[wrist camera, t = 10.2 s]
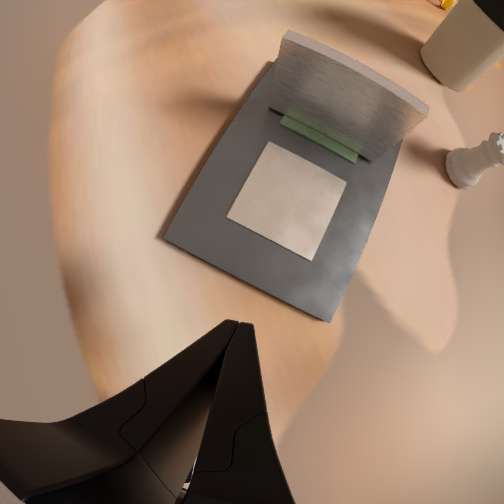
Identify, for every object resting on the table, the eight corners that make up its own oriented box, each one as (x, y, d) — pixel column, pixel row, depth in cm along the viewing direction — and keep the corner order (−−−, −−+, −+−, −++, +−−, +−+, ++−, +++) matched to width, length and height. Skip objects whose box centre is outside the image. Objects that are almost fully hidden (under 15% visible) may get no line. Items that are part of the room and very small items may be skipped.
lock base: (325, 321, 22) (355, 335, 16) (166, 239, 22) (142, 226, 16) (402, 129, 24) (433, 100, 18) (277, 62, 24) (285, 20, 18)
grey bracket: (373, 162, 22) (427, 116, 14) (268, 106, 22) (282, 37, 14) (391, 112, 23) (436, 63, 14) (297, 62, 23) (317, -3, 14)
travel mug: (449, 98, 25) (536, 22, 7) (408, 51, 26) (475, -38, 8) (472, 86, 26) (545, 24, 8) (436, 44, 26) (496, -28, 8)
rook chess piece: (438, 171, 24) (489, 142, 16) (448, 144, 24) (493, 113, 16) (465, 199, 24) (517, 179, 16) (473, 170, 24) (520, 147, 16)
